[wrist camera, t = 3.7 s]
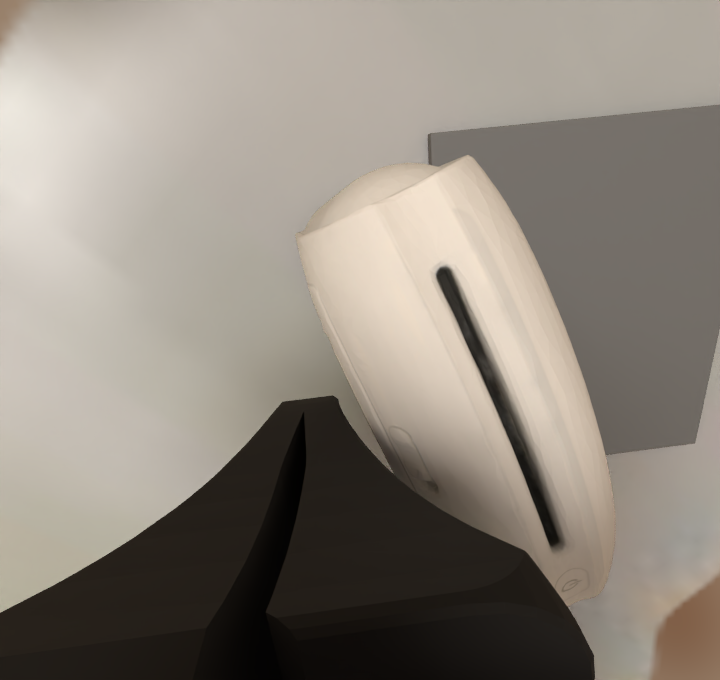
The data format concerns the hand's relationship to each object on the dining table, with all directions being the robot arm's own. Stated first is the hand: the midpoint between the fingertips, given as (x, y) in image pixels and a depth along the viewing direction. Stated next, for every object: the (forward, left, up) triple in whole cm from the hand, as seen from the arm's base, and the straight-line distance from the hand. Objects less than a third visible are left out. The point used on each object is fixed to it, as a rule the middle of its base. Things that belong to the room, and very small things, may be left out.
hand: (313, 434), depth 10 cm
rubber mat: (-1, -12, -9) cm, 15 cm away
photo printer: (0, -3, -9) cm, 9 cm away
